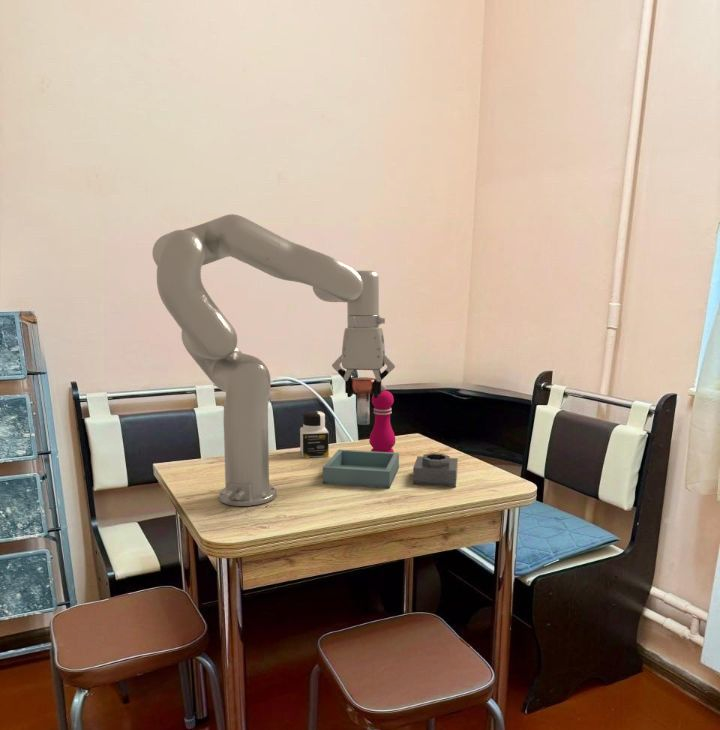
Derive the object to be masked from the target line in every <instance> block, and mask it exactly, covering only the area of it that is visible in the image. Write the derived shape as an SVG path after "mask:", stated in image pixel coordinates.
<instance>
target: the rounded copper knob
mask: <svg viewBox="0 0 720 730" xmlns="http://www.w3.org/2000/svg"><path fill="white" fill-rule="evenodd" d="M375 379H376V378H375V377H365V376H364V377H363V376H362V377H361V376H360V377H359V376H358V377H351V392H353V394H357V395H356V400H357V401H356V402H357V405H356V408H357V411H356V414H357V420H356V421H357V423H356V424H357V425H360V426H361V425H362V426H367V425H370V424H371V423H370V417H371V416H370V415H371V414H370V408H371V407H370V406H371V405H370V399H371V398H370V394H374V382H375Z"/></svg>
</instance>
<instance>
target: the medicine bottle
mask: <svg viewBox="0 0 720 730" xmlns="http://www.w3.org/2000/svg"><path fill="white" fill-rule="evenodd" d="M302 417H303V418H302V421H303V422H302V423H303V424H302V425H303V426H302V427H300V428H299V434H300V436H299V438H300V439H299V440H300V444H299V445H300V447H299V448H300V449H299V450H300V451H299V452H300V453H301V455H302V458H303V459H308V458H307V457H313V458H328V457H329V455H330V454H329V453H330V452H329V450H330V449H329V446H330V445H329V444H330V443H329V442H330V440H329V437H330V436H329V435H330V433H329V430H328V429H327V428H326V419H325V418H326V414H325V413H324V412H323V411H321V410H320V411H318V410H310V411H306V412H304V413H303V415H302Z"/></svg>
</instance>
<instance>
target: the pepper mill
mask: <svg viewBox="0 0 720 730" xmlns="http://www.w3.org/2000/svg"><path fill="white" fill-rule="evenodd" d="M372 394H373V395H372V397H371V403H372V405H373V407H374V408H373V414H374V418H375V419H374V425H373V428H372V430H371V432H370V434H369V444H370V446H371V447H372V448H371V450H370V451H374V452H392V453H395V451H394V449H393V447H394V446H395V444H396V436H395V432H394V430H393V427H392V424H391V414H392V413H393V412H392V406H393V404H394V401H395V400H394V395H393V394H392V393H391V392H390V391H389V390H387V386H386V385H385V384H381V394H379V397H378V398H374V393H372Z"/></svg>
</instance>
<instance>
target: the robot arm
mask: <svg viewBox="0 0 720 730" xmlns="http://www.w3.org/2000/svg"><path fill="white" fill-rule="evenodd" d="M228 257H231V258H234V259H236V260H237V261H239V262H242V263H244V264H247V265H249V266H250V267H253V268H255V269H257V270H259V271H260V272H263V273H265V274H267V275H269V276H271V277H274V278H276V279H280V280H283V281H289V282H294V283H300V284H304V285H307V286H310V287H312V290H313V293H314V295H315V296H316V297H317V298H318V299H320V300H321V301H323V302H327V303H347V305H346V306H347V307H346V308H347V309H346V312H347V314H346V315H347V327H345V329H344V331H343V339H342V347H341V355H340V356H339V357H338V358H337V359H336V360H335V361H334V362H333V363H332V365H331V367H332V369H334V370H335V371H336V372H337V374H338V375H340V376H341V378H342V379H343V381H344V383H345V385H344V389H345V391H344V393H345V394H347V396H346V397H347V398H351V397H352V396H353V395H354V393H353V392H351V379H352V375H353V373H354V370H355V371H372V373H373V375H374V378H375V382H374V393H373V394H374V398H378V397H379V394H381V385H382V380H384V378H385V377H387V375H389V374H390V373H391V371H393V370H394V369H395V368H396V365H395V364H394V363H393V362H392V361H391V359H390V358H389V357H388V356H387V355H386V350H385V349H386V347H385V339H384V338H385V337H384V331H383V328H382V327H380V325H382V324H385V323H386V319H385V318H384V317H381V316H380V313H379V312H380V311H379V310H380V308H379V307H380V301H379V300H380V299H379V298H380V297H379V295H380V294H379V293H380V291H379V290H380V289H379V288H380V286H379V283H380V282H379V281H380V280H379V278H380V277H379V274H378V272H376V271H373V270H356V269H354V268H352V267H351V266H349V265H347V264H345V263H343V262H341V261H340V260H338V259H335V258H334V257H332V256H330V255H327V254H324V253H322V252H319V251H317V250H314V249H311V248H310V247H309V248H308V247H306V246H304V245H301V244H299V243H295V242H292V241H290V240H288V239H286V238H284V237H282V236H280V235H279V234H276V233H275V232H273V231H271V230H269V229H267V228H266V227H263V226H261V225H259V224H258V223H256V222H254V221H251V220H250V219H247V218H246V217H244V216H241V215H238V214H232V213H231V214H226V215H223V216H220V217H217V218H215V219H212V220H210V221H207V222H204V223H201V224H198V225H197V224H196V225H194V226H190V227H188V228H185V229H177V230H174V231H170V232H169V233H166V234H163V235H161V236H160V237H159V238H157V240H156V241H155V242H154V244H153V247H152V258H153V261H154V263H155V265H156V285H157V291H158V294H159V297H160V300H161V301H162V303H163V305H164V307H165V308H166V310H167V312H168V313H169V315H171V317H172V318H173V320H174V321H175V323H176V324H177V325H178V327H180V329H181V332H180V333H181V335H180V336H181V342H182V344H183V346H184V348H185V350H186V351H187V353H188V354H189V356H191V357H192V359H193V360H194V361H195V363H196V364H197V365H198V367H199V368H200V369H201V370H202V372H204V374H205V375H206V377H208V379H209V380H210V381H211V382H212V384H213V385H214V386H216V388H218V389H219V390H221V391H222V392H224V393H225V399H224V400H225V401H224V406H223V441H224V442H223V443H224V477H225V479H224V480H225V486H224V487H223V488H222V489H220V490H219V492H218V500H219V501H220V502H221V503H223V504H225V505H229V506H232V507H233V506H234V507H250V506H251V507H252V505H253V506H257V505H263V504H265V503H268V502H270V501H272V500H273V499H275V498H276V496H277V488H276V487H275V486H273V485H272V484H270V468H269V467H270V465H269V464H270V463H269V462H270V460H269V459H270V457H269V453H270V452H269V451H270V450H269V448H270V447H269V400H270V393H271V392H270V391H271V386H272V383H271V381H272V380H271V373H270V370H269V369H268V367H267V364H265V363H264V362H263V361H262V360H261V359H259V358H258V357H255V356H253V355H250V354H246V353H243V352H242V351H241V350H240V348H239V347H238V335H237V331H236V330H235V328H234V326H233V325H232V323H231V322H230V321H229V320H228V318H227V317H226V316H225V314H223V312H222V311H221V310H220V308H219V307H218V305H216V303H215V302H214V301H213V299H212V297H211V296H210V295H209V293H208V291H207V290H206V288H205V286H204V284H203V281H202V278H201V277H202V276H201V272H202V271H201V270H202V267H203V266H206V265H208V264H210V263H214V262H217V261H220V260H222V259H226V258H228ZM385 365H386V368H385V369H384V370H383V371H382V372H381V369H382V368H383V367H385ZM341 366H342V367H341Z"/></svg>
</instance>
